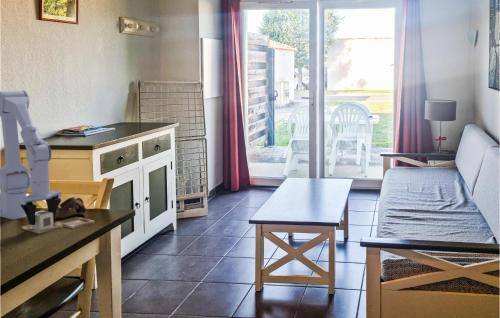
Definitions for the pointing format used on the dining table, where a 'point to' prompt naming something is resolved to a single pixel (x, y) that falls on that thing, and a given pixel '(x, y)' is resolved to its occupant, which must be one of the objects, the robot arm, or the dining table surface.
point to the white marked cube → (43, 220)
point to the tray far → (75, 222)
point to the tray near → (42, 230)
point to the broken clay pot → (72, 207)
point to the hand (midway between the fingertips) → (42, 222)
